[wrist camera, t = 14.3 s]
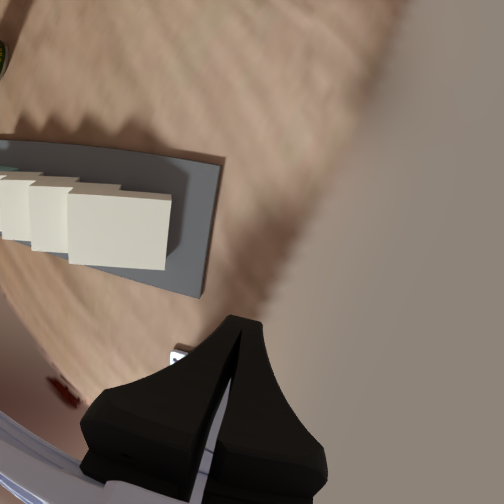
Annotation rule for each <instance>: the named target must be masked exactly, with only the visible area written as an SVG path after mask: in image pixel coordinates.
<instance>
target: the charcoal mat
mask: <svg viewBox="0 0 504 504" xmlns="http://www.w3.org/2000/svg"><path fill="white" fill-rule="evenodd" d="M0 166H5V167H13V168H19V172H44V176H57V177H80V182H83V183H101V184H117V185H121V190H123V191H137V192H149V193H161V194H171V199H172V202H171V210H170V219H169V229H168V238H167V249H166V260H165V270H151V269H136V268H121V267H107V266H94V265H85V266H88V267H91V268H95V269H98V270H101V271H104V272H107V273H110V274H114V275H117V276H120V277H124V278H127V279H130V280H134V281H137V282H140V283H144V284H147V285H151V286H154V287H158V288H161V289H165V290H168V291H172V292H175V293H179V294H183V295H186V296H190V297H194V298H198V299H200V297H201V294H202V286H203V279H204V272H205V265H206V258H207V251H208V245H209V238H210V232H211V225H212V219H213V213H214V207H215V200H216V194H217V189H218V183H219V177H220V171H221V166H222V165H216V164H211V163H205V162H200V161H194V160H188V159H182V158H176V157H170V156H164V155H157V154H150V153H143V152H136V151H129V150H121V149H113V148H105V147H96V146H86V145H76V144H65V143H53V142H39V141H22V140H0ZM0 236H2V231H0ZM13 241H16V242H18V243H21V244H24V245H27V246H30V247H31V241H20V240H13ZM46 253H49V254H52V255H55V256H58V257H61V258H64V259H67V260H69V257H68V253H57V252H46Z"/></svg>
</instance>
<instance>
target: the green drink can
mask: <svg viewBox="0 0 504 504" xmlns="http://www.w3.org/2000/svg"><path fill="white" fill-rule="evenodd" d="M8 60H9V49H8V47H7V45H6V44H5V43H4V42H2V41H1V40H0V80H1V78H2V77H3V75H4V73H5V70H6V68H7V64H8Z"/></svg>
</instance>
